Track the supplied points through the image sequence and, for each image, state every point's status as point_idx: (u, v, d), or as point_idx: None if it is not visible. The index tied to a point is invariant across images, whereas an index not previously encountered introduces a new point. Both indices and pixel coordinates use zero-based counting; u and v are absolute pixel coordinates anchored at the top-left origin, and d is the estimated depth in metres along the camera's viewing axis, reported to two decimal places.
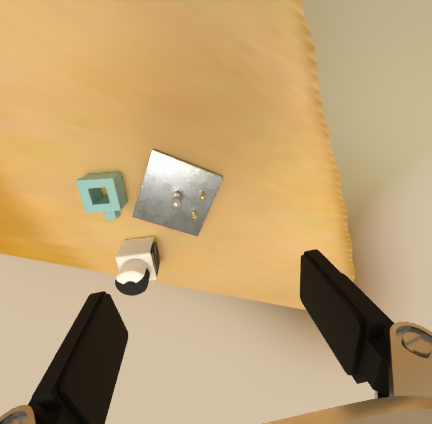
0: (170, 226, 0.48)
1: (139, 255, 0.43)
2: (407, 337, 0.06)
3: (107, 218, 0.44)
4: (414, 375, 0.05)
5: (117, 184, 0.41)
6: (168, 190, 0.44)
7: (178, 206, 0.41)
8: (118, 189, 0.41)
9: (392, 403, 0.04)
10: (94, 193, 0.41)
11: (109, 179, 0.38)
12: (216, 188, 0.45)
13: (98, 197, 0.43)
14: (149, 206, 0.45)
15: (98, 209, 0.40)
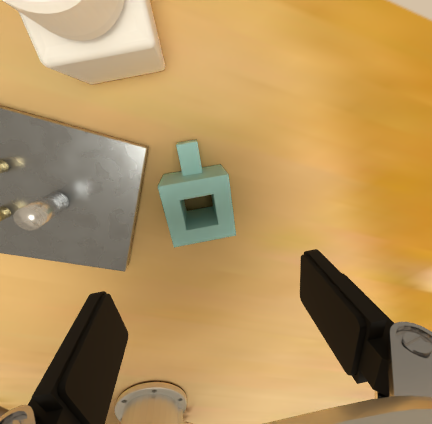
0: (49, 126, 0.19)
1: (75, 57, 0.13)
2: (407, 337, 0.06)
3: (194, 146, 0.20)
4: (414, 375, 0.05)
5: None
6: (80, 213, 0.22)
7: (20, 217, 0.17)
8: None
9: (392, 403, 0.04)
10: (213, 202, 0.22)
11: (179, 244, 0.21)
12: None
13: None
14: (112, 175, 0.21)
15: (203, 184, 0.19)
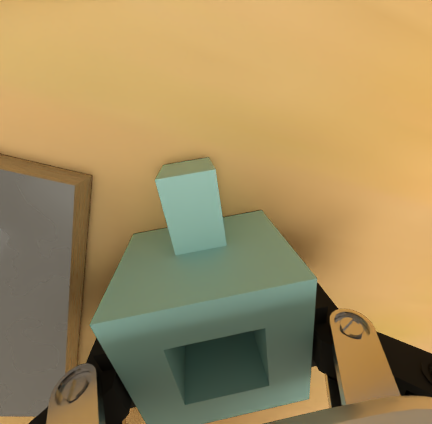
0: None
1: None
2: (343, 323, 0.07)
3: (208, 183, 0.07)
4: (341, 353, 0.06)
5: None
6: None
7: None
8: None
9: (392, 403, 0.04)
10: None
11: None
12: None
13: None
14: None
15: (236, 309, 0.06)
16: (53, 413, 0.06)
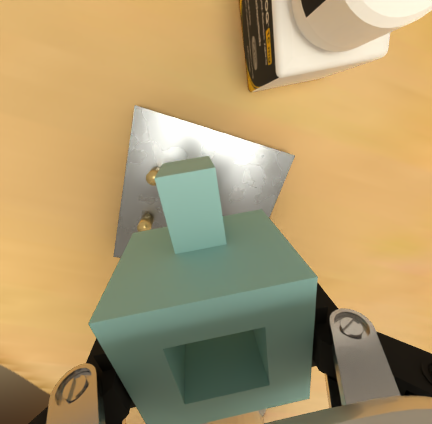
0: (211, 134, 0.19)
1: (312, 68, 0.13)
2: (343, 323, 0.07)
3: (208, 181, 0.07)
4: (341, 353, 0.06)
5: None
6: None
7: None
8: None
9: (392, 403, 0.04)
10: None
11: None
12: (120, 235, 0.22)
13: None
14: (256, 182, 0.21)
15: (235, 308, 0.06)
16: (53, 413, 0.06)
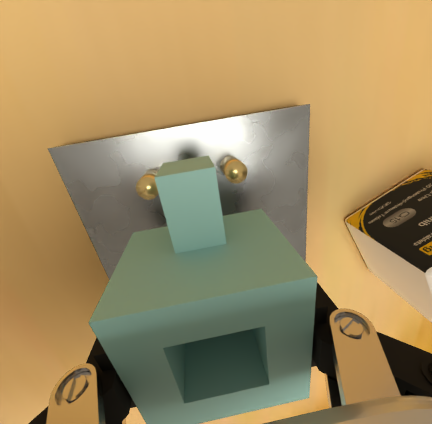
0: (301, 208, 0.15)
1: None
2: (343, 323, 0.07)
3: (208, 181, 0.07)
4: (341, 353, 0.06)
5: None
6: None
7: None
8: None
9: (392, 403, 0.04)
10: None
11: None
12: (98, 147, 0.12)
13: None
14: None
15: (235, 307, 0.06)
16: (53, 413, 0.06)
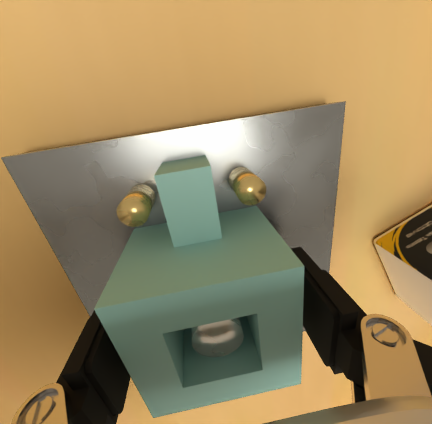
0: (326, 230, 0.12)
1: None
2: (376, 329, 0.06)
3: (204, 178, 0.08)
4: (378, 362, 0.06)
5: None
6: None
7: (217, 331, 0.08)
8: None
9: (392, 403, 0.04)
10: None
11: (167, 412, 0.09)
12: (69, 156, 0.09)
13: None
14: None
15: (229, 295, 0.07)
16: None
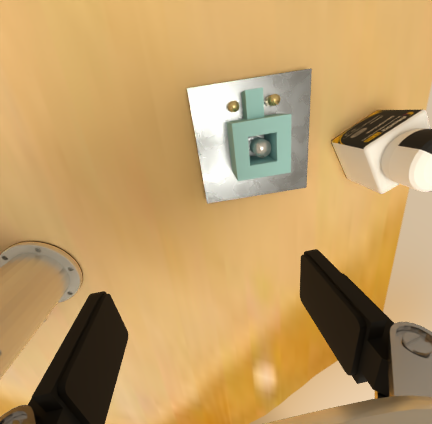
0: (305, 128, 0.28)
1: (371, 163, 0.25)
2: (407, 337, 0.06)
3: (260, 92, 0.23)
4: (414, 375, 0.05)
5: (234, 164, 0.26)
6: None
7: (262, 144, 0.24)
8: (233, 156, 0.26)
9: (392, 403, 0.04)
10: (271, 144, 0.26)
11: (243, 178, 0.25)
12: (209, 88, 0.25)
13: None
14: None
15: (269, 123, 0.23)
16: None
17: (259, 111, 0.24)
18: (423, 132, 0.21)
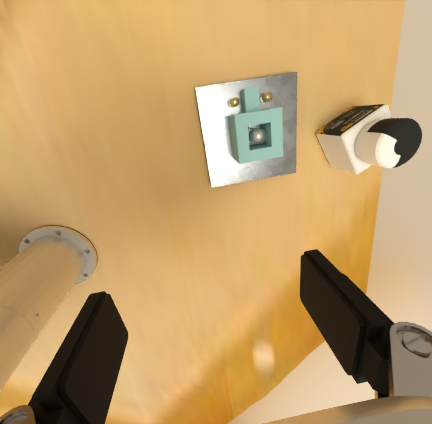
0: (293, 121, 0.33)
1: (347, 147, 0.30)
2: (407, 337, 0.06)
3: (256, 90, 0.29)
4: (414, 375, 0.05)
5: (235, 150, 0.31)
6: None
7: (259, 132, 0.29)
8: (235, 143, 0.30)
9: (392, 403, 0.04)
10: (266, 133, 0.31)
11: (243, 161, 0.30)
12: (214, 87, 0.30)
13: (263, 123, 0.31)
14: (276, 160, 0.36)
15: (264, 114, 0.28)
16: None
17: (256, 106, 0.30)
18: (385, 120, 0.27)
